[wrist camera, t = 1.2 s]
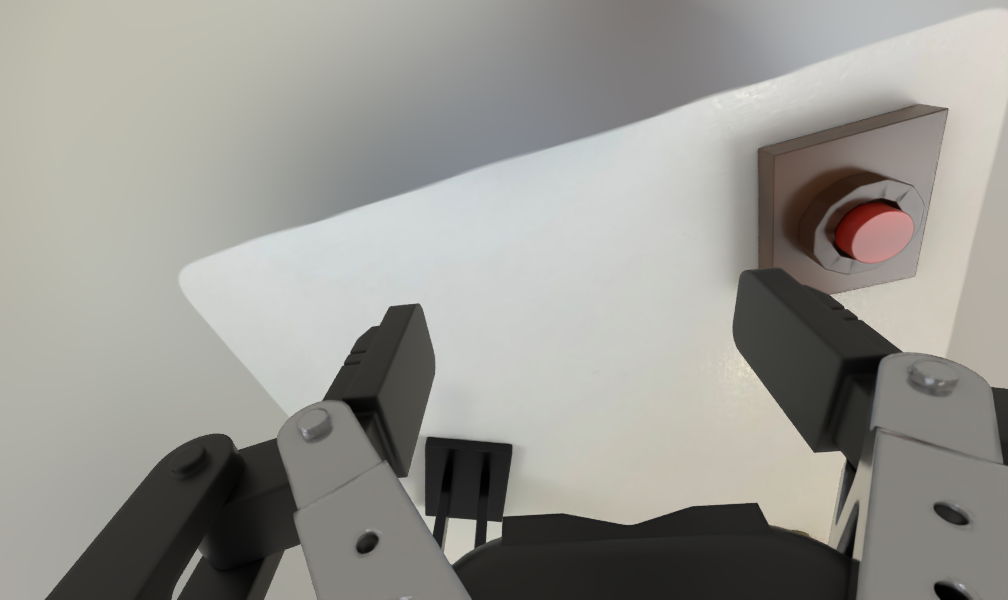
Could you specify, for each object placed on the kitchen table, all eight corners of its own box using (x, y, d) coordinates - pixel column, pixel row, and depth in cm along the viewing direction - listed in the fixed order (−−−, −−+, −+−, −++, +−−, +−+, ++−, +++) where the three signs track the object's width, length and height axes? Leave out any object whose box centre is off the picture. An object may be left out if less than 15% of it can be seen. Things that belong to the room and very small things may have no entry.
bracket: (427, 436, 46) (395, 575, 34) (512, 444, 46) (510, 584, 34) (427, 506, 52) (399, 644, 40) (502, 512, 52) (497, 652, 40)
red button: (836, 210, 28) (854, 219, 27) (897, 194, 28) (919, 203, 26) (832, 258, 30) (848, 269, 29) (889, 245, 29) (909, 256, 28)
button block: (757, 148, 30) (788, 162, 26) (920, 103, 28) (976, 112, 25) (758, 293, 36) (784, 320, 32) (893, 263, 34) (935, 288, 31)
